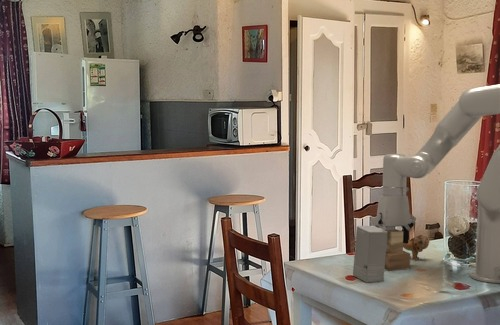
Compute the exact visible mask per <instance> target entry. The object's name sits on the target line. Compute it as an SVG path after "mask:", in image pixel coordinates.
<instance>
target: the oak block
mask: <svg viewBox="0 0 500 325" xmlns="http://www.w3.org/2000/svg"><path fill="white" fill-rule="evenodd" d="M385 231H387V232H388V233H387V245H386V252H388V253H390V254H395V253H403V251H404V247H403V231H402V230H400V229H398V228H397V229H396V228H391V229H385Z"/></svg>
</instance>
